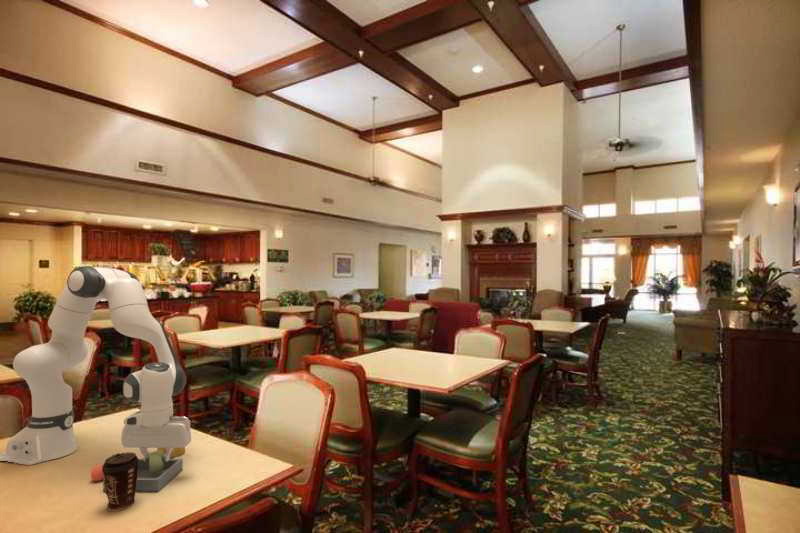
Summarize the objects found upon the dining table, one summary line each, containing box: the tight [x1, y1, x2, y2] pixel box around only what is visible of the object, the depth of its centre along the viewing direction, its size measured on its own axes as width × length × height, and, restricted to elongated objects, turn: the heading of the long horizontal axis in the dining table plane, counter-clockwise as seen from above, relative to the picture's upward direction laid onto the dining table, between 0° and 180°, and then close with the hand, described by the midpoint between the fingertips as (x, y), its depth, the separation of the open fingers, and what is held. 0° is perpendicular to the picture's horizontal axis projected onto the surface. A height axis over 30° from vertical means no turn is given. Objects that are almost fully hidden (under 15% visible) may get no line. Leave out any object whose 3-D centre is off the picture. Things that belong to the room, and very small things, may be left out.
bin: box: [102, 458, 184, 493], centre depth 133 cm, size 16×14×4 cm
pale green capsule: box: [149, 450, 164, 472], centre depth 135 cm, size 4×4×5 cm
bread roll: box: [156, 447, 186, 459], centre depth 152 cm, size 8×9×4 cm
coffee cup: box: [102, 451, 140, 512], centre depth 120 cm, size 9×8×13 cm
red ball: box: [90, 464, 105, 482], centre depth 134 cm, size 4×4×4 cm
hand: (156, 460), depth 135 cm, fingers open, 4 cm apart
